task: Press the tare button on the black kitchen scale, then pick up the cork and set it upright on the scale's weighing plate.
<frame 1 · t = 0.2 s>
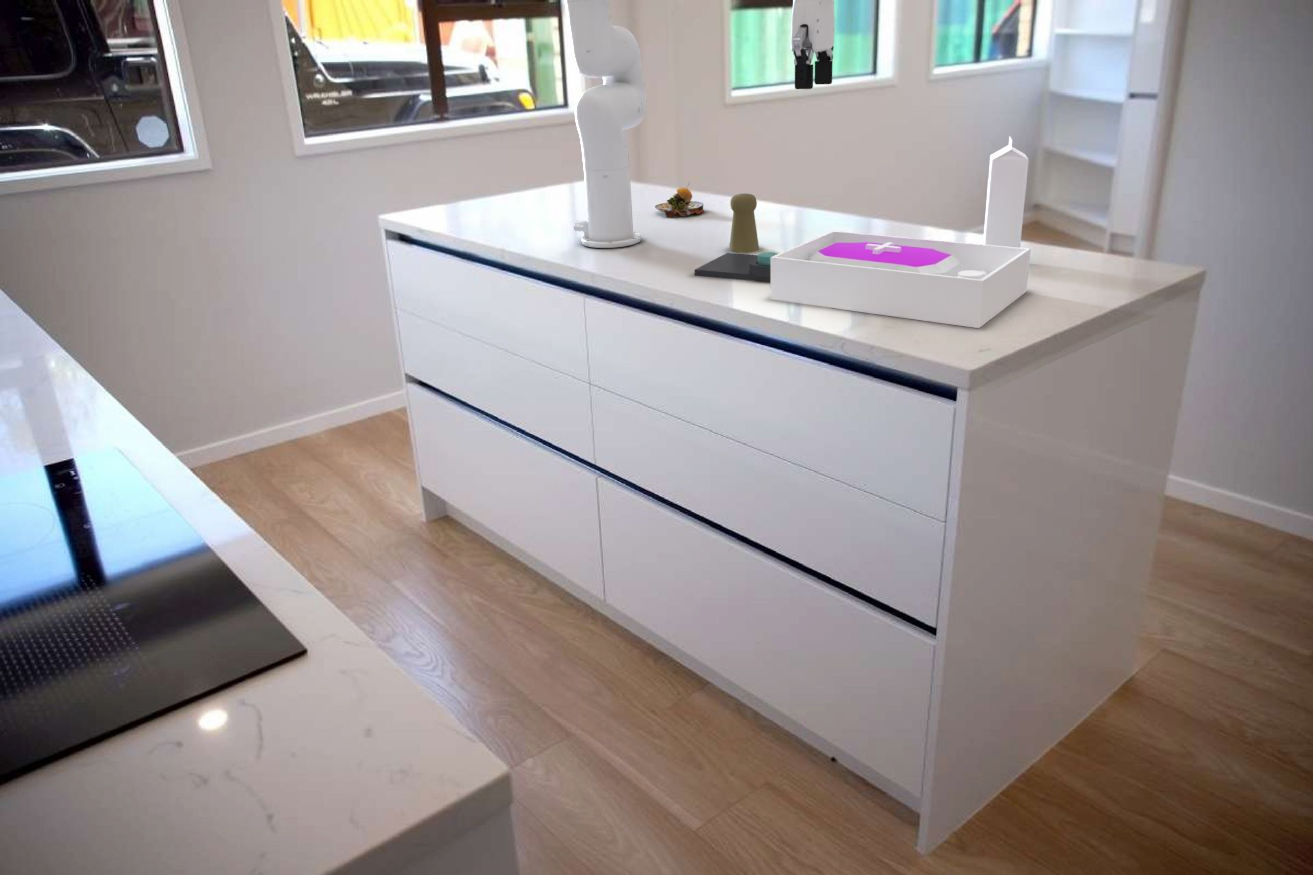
hand: (813, 86, 179), 31 cm above the worktop, tool pointing down, fingers open, 9 cm apart
multicoloured piece: (679, 213, 239), on the worktop
scale: (750, 270, 184), on the worktop
milk: (999, 265, 180), on the worktop
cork: (744, 250, 200), on the worktop
white tray with pad: (897, 296, 164), on the worktop
tare button: (768, 259, 177), point 3 cm above the worktop, slide at 0.1 cm
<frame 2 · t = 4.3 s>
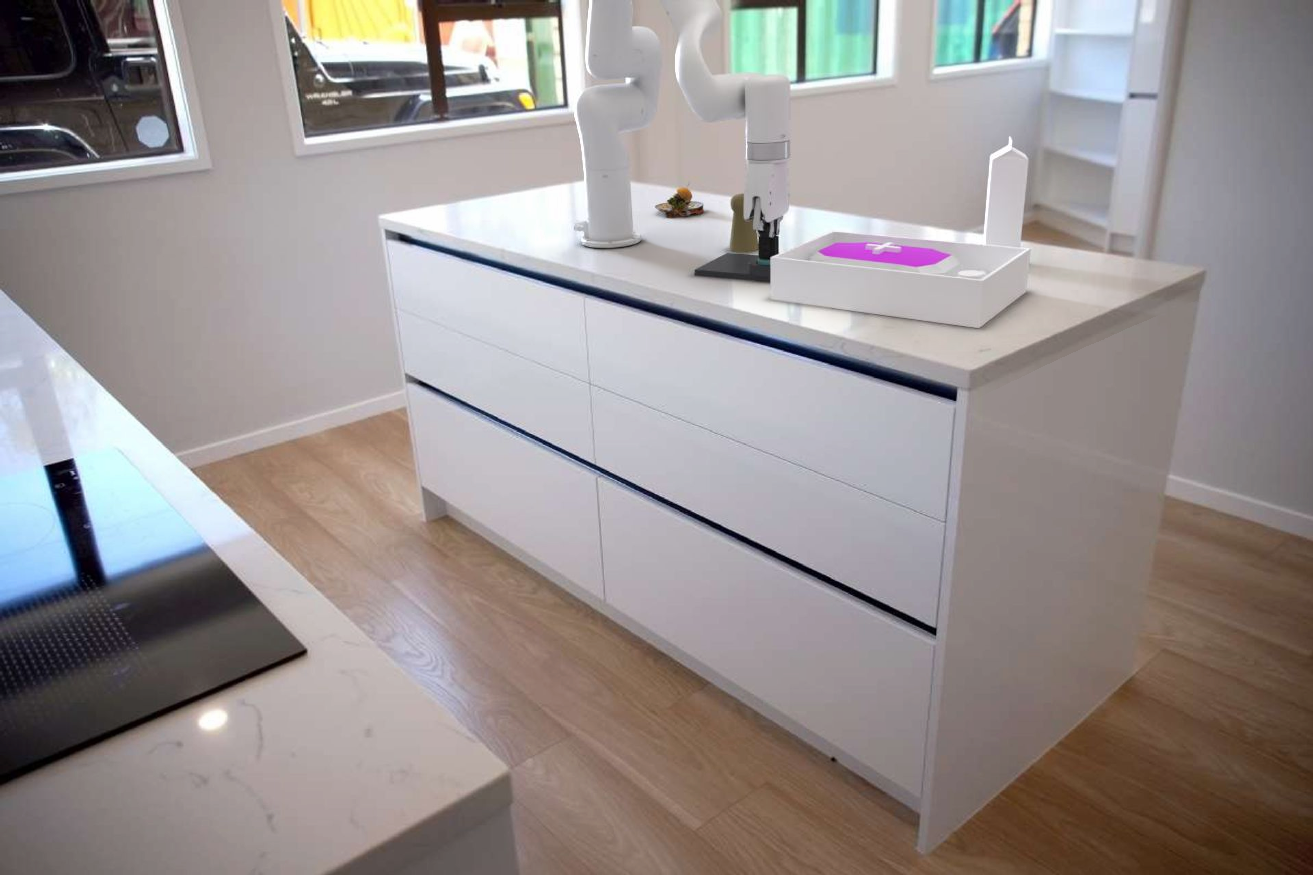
hand: (768, 258, 176), 4 cm above the worktop, tool pointing down, fingers closed
tare button: (768, 263, 177), point 3 cm above the worktop, slide at -0.6 cm, touching gripper
everything else where it was.
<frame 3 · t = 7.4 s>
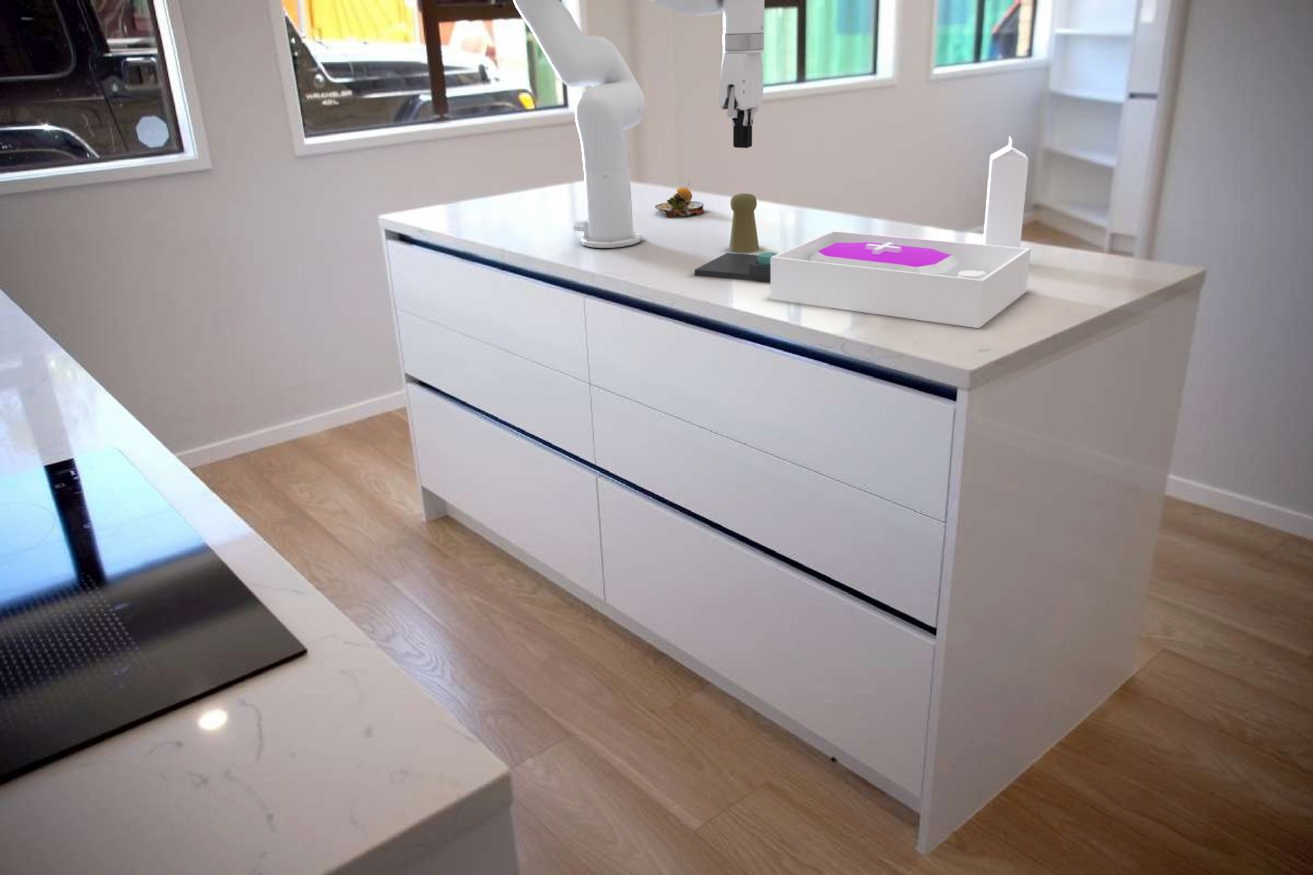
hand: (742, 147, 190), 20 cm above the worktop, tool pointing down, fingers closed
tare button: (768, 259, 177), point 3 cm above the worktop, slide at 0.1 cm
everything else where it was.
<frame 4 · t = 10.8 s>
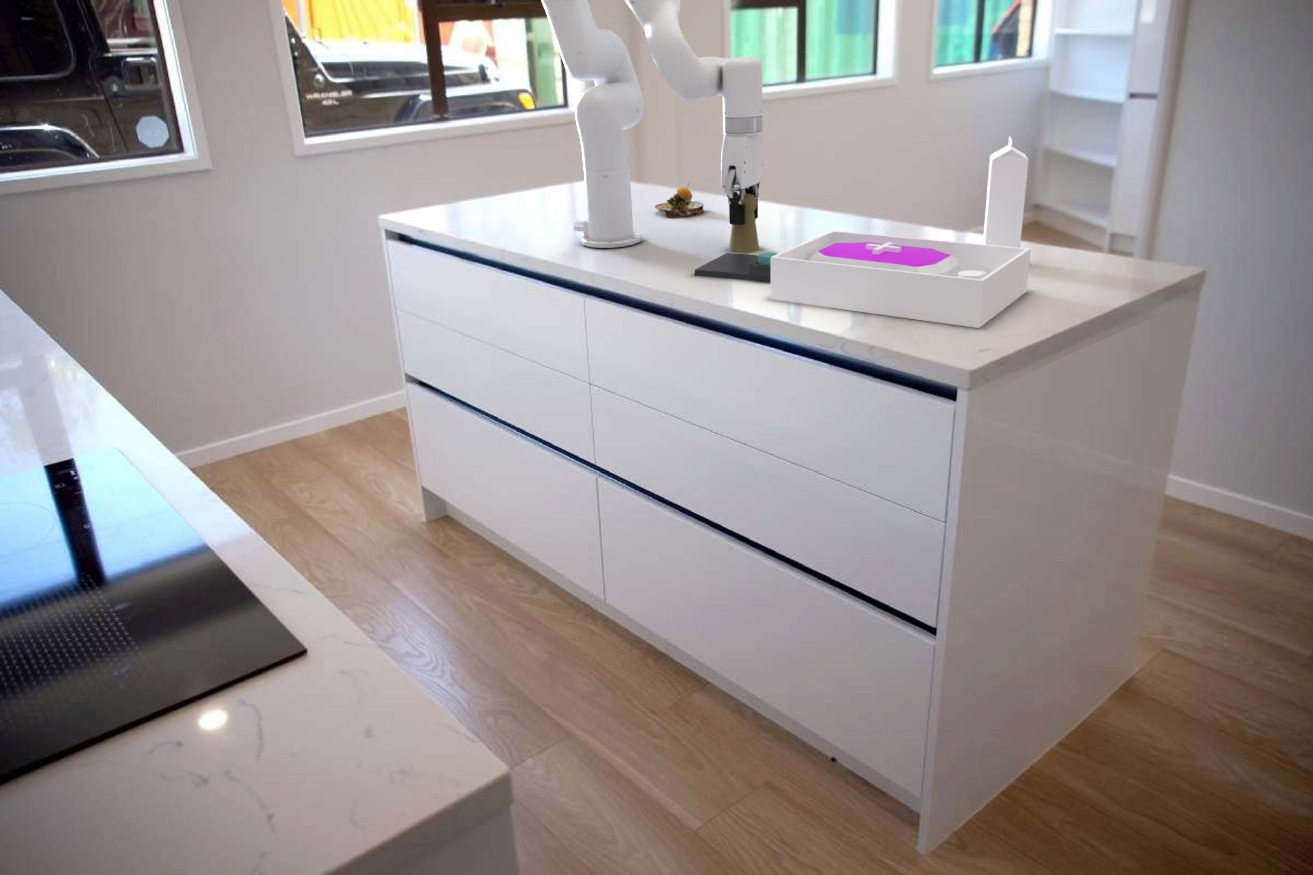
hand: (743, 220, 197), 6 cm above the worktop, tool pointing down, fingers closed on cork, 5 cm apart
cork: (744, 250, 200), on the worktop, touching gripper
everything else where it was.
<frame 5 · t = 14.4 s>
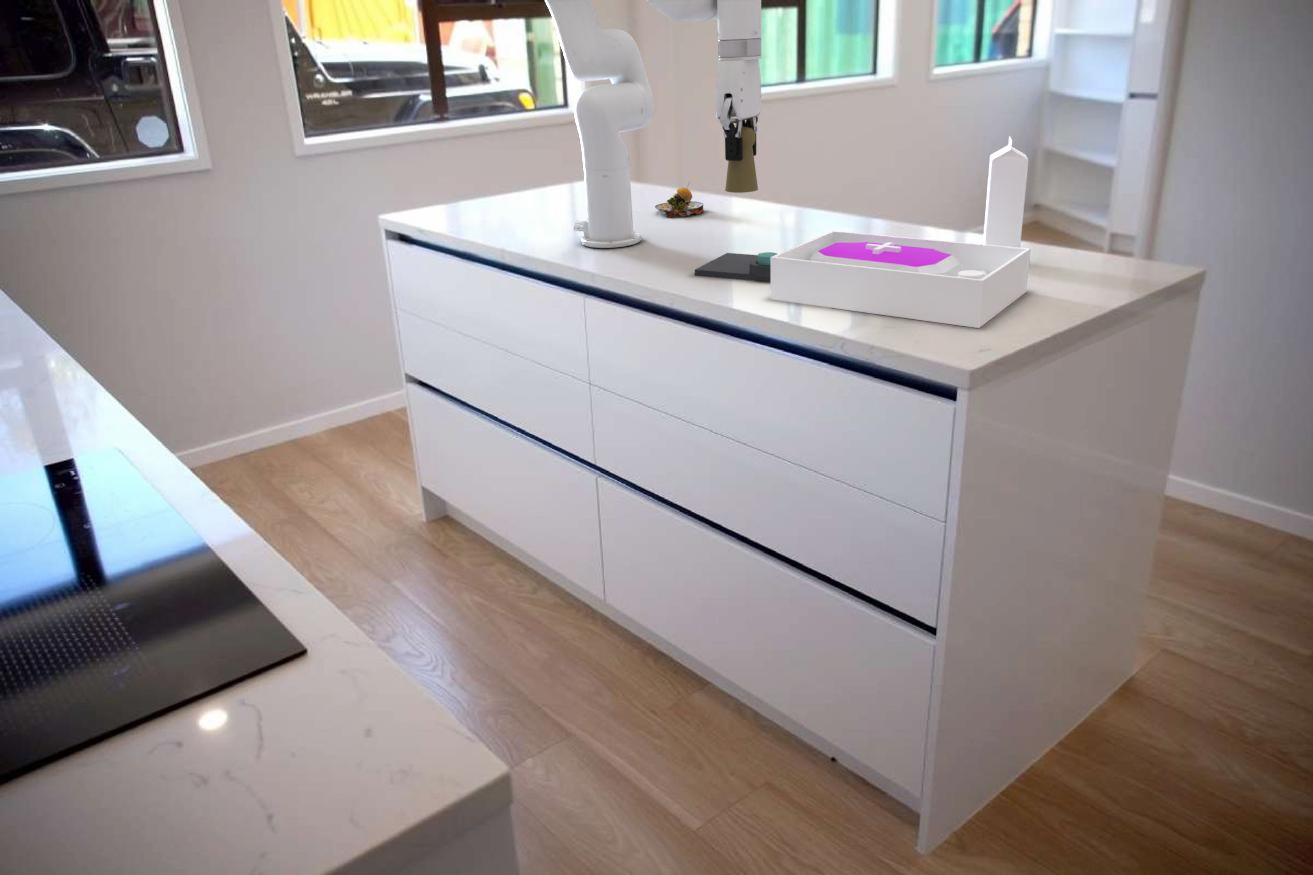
hand: (741, 157, 180), 20 cm above the worktop, tool pointing down, fingers closed on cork, 5 cm apart
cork: (741, 191, 182), point 14 cm above the worktop, touching gripper
everything else where it was.
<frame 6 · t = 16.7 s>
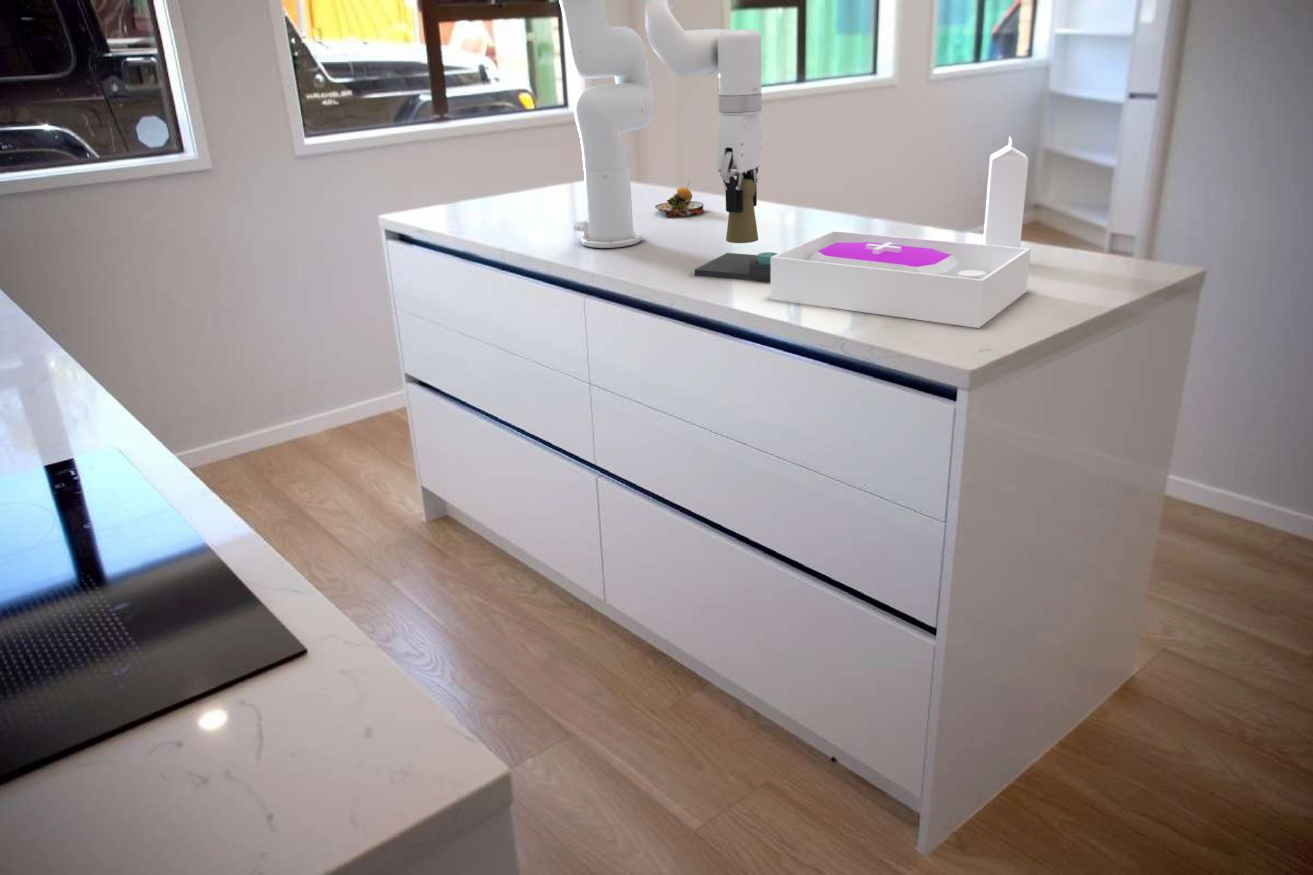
hand: (741, 208, 183), 11 cm above the worktop, tool pointing down, fingers closed on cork, 5 cm apart
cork: (742, 240, 185), point 5 cm above the worktop, touching gripper
everything else where it was.
when the fingers open (7 cm above the worktop, at t = 18.3 s): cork stays where it is, resting on scale.
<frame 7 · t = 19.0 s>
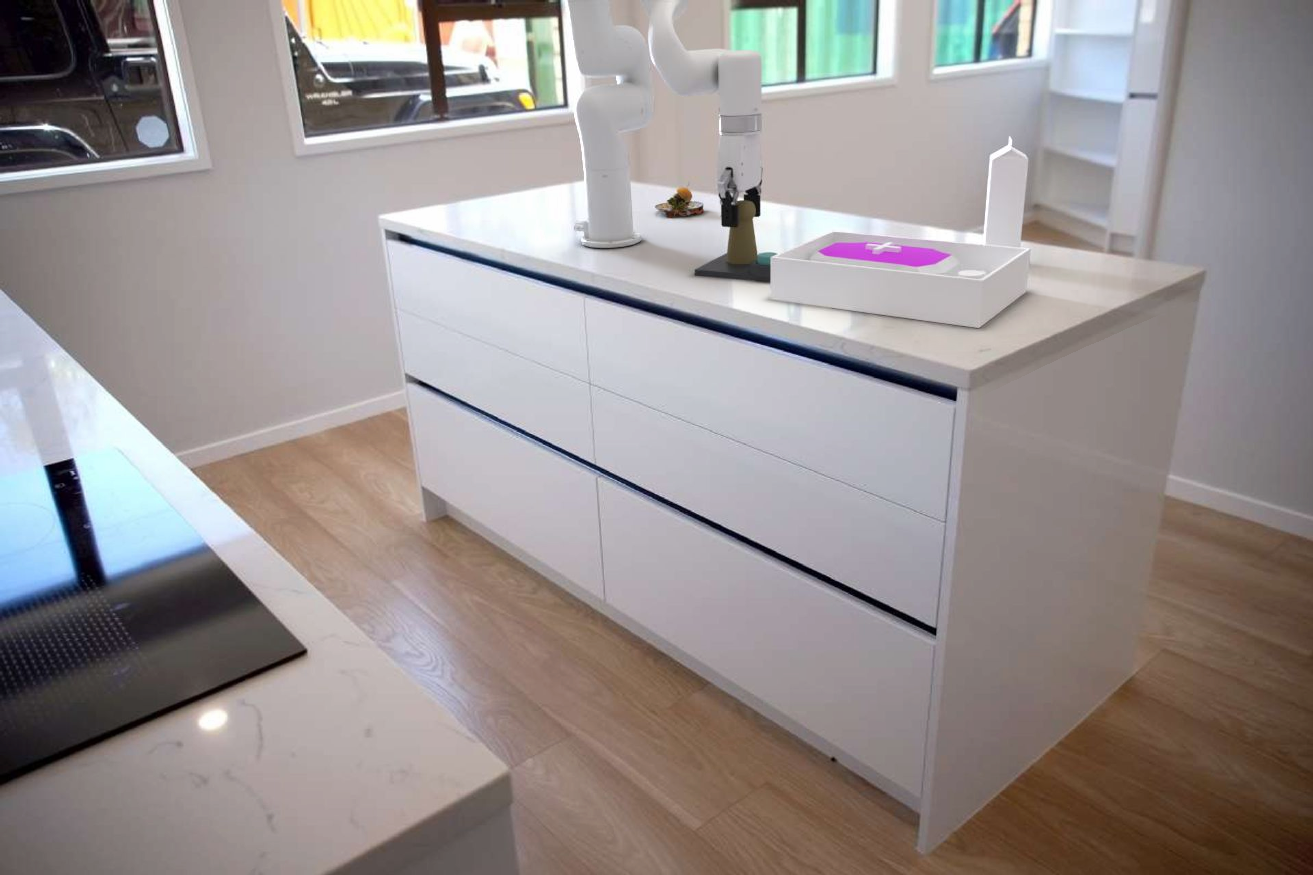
hand: (741, 221, 184), 8 cm above the worktop, tool pointing down, fingers open, 9 cm apart
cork: (742, 261, 186), point 1 cm above the worktop, touching scale
everything else where it was.
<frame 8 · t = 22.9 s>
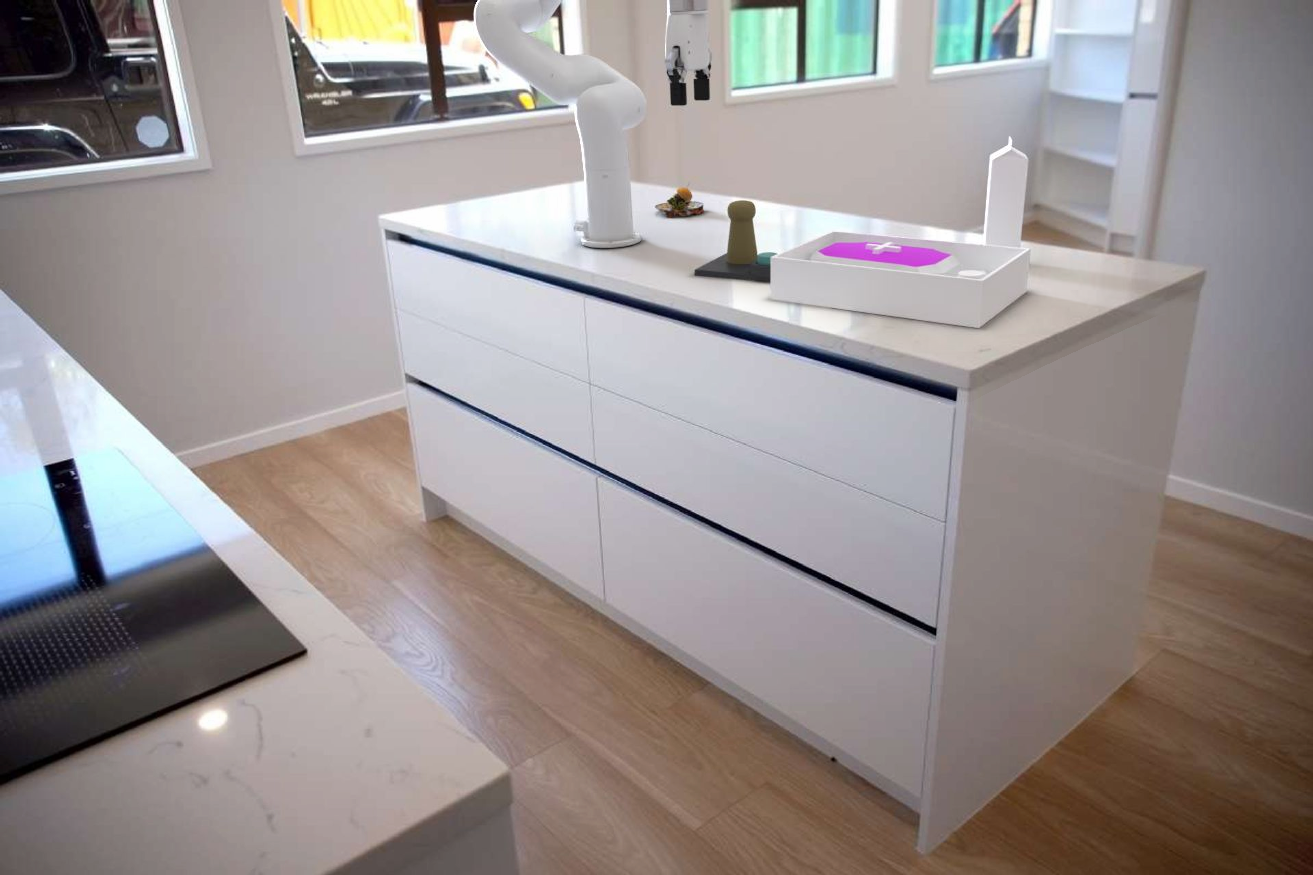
hand: (690, 102, 192), 28 cm above the worktop, tool pointing down, fingers open, 9 cm apart
nothing on the worktop moved.
at the end: tare button pushed in 1.1 cm at the most during the clip, back to where it started at the end; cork inside the target area on the scale (3.2 cm from its centre), point 1.0 cm above the scale's base; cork tilted 0° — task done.
